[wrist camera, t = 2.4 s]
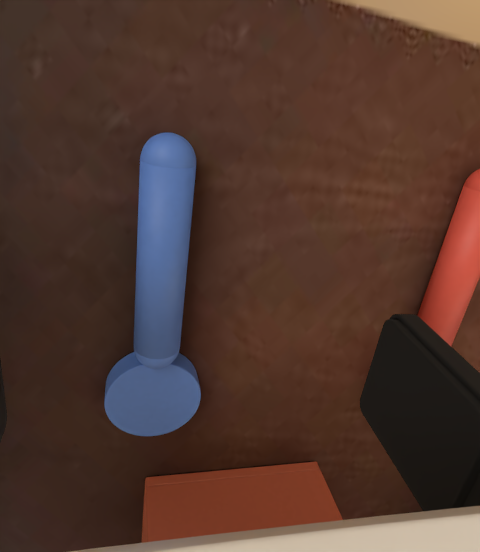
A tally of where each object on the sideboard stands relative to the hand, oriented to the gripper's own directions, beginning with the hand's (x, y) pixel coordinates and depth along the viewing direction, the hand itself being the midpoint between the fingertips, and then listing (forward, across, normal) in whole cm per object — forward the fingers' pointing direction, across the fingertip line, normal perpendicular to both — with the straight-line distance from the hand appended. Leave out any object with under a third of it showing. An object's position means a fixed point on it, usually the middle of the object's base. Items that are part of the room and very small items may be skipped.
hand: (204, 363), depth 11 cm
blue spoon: (+9, +1, +3) cm, 9 cm away
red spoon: (+9, -13, +3) cm, 16 cm away
